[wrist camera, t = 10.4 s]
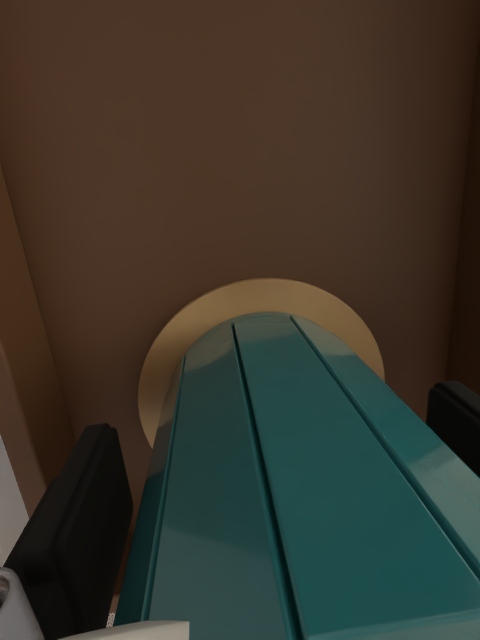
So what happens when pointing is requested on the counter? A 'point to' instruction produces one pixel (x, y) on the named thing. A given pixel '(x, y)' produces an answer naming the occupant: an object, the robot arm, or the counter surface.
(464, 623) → the cup
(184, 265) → the tray
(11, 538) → the counter surface
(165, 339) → the coaster
